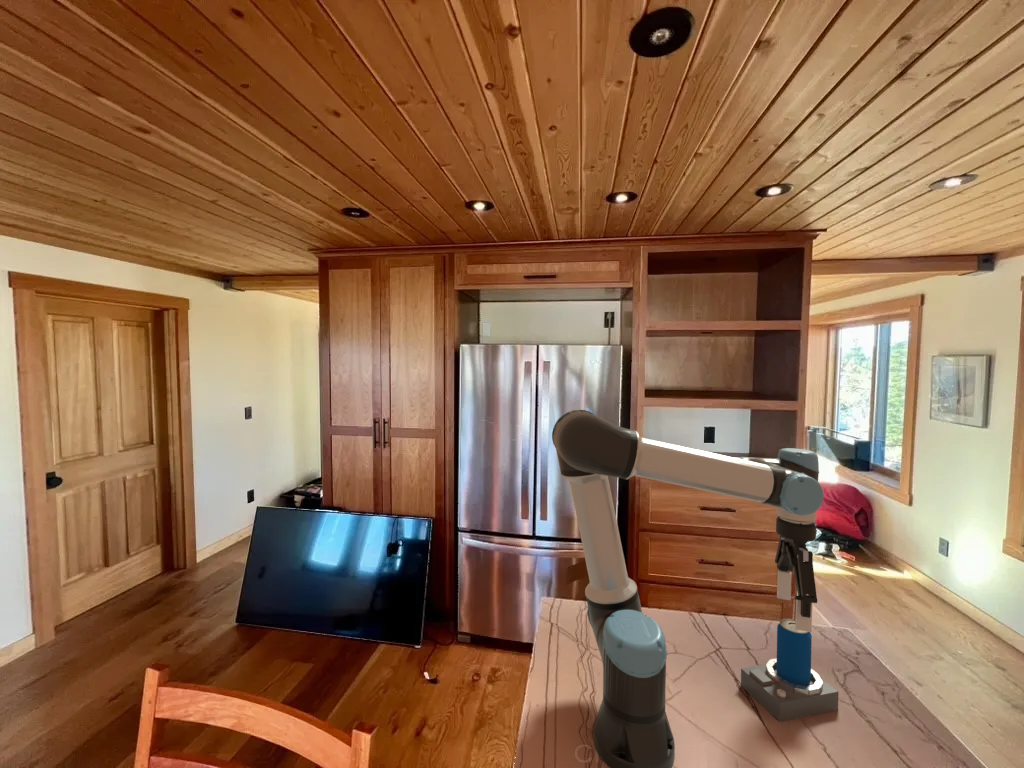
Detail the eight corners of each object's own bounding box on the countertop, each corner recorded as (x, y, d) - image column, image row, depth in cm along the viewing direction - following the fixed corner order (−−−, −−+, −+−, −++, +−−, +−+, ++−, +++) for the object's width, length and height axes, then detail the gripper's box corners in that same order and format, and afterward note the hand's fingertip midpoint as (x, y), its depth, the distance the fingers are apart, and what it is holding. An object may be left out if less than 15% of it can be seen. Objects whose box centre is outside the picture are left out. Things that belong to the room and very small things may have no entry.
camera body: (779, 721, 91) (780, 699, 91) (740, 685, 102) (741, 664, 102) (838, 709, 94) (838, 687, 94) (794, 675, 105) (794, 656, 105)
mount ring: (793, 698, 92) (794, 693, 92) (756, 666, 102) (756, 661, 102) (834, 691, 94) (834, 685, 94) (793, 660, 105) (793, 655, 105)
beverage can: (812, 677, 99) (813, 624, 98) (808, 693, 94) (809, 637, 94) (779, 665, 103) (780, 614, 103) (773, 679, 98) (774, 625, 98)
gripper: (839, 540, 85) (835, 649, 85) (797, 505, 109) (794, 590, 109) (794, 535, 87) (791, 641, 87) (762, 502, 111) (760, 585, 111)
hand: (792, 613), depth 98 cm, fingers open, 13 cm apart
